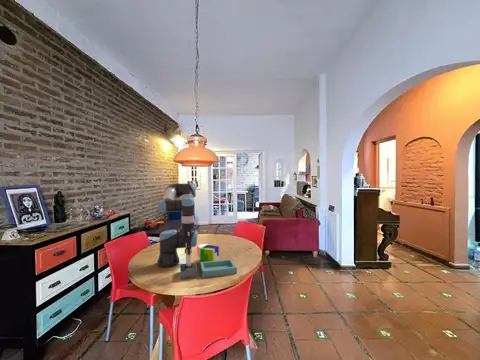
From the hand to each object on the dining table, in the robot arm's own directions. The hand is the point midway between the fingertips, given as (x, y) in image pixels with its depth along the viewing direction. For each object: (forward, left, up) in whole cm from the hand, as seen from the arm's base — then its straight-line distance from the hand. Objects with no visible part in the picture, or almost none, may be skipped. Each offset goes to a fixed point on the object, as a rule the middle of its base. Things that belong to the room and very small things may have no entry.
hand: (188, 256), depth 148 cm
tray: (-1, +19, -12) cm, 22 cm away
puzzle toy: (-20, +16, -12) cm, 29 cm away
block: (0, 0, -12) cm, 12 cm away
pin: (0, 0, -12) cm, 12 cm away
